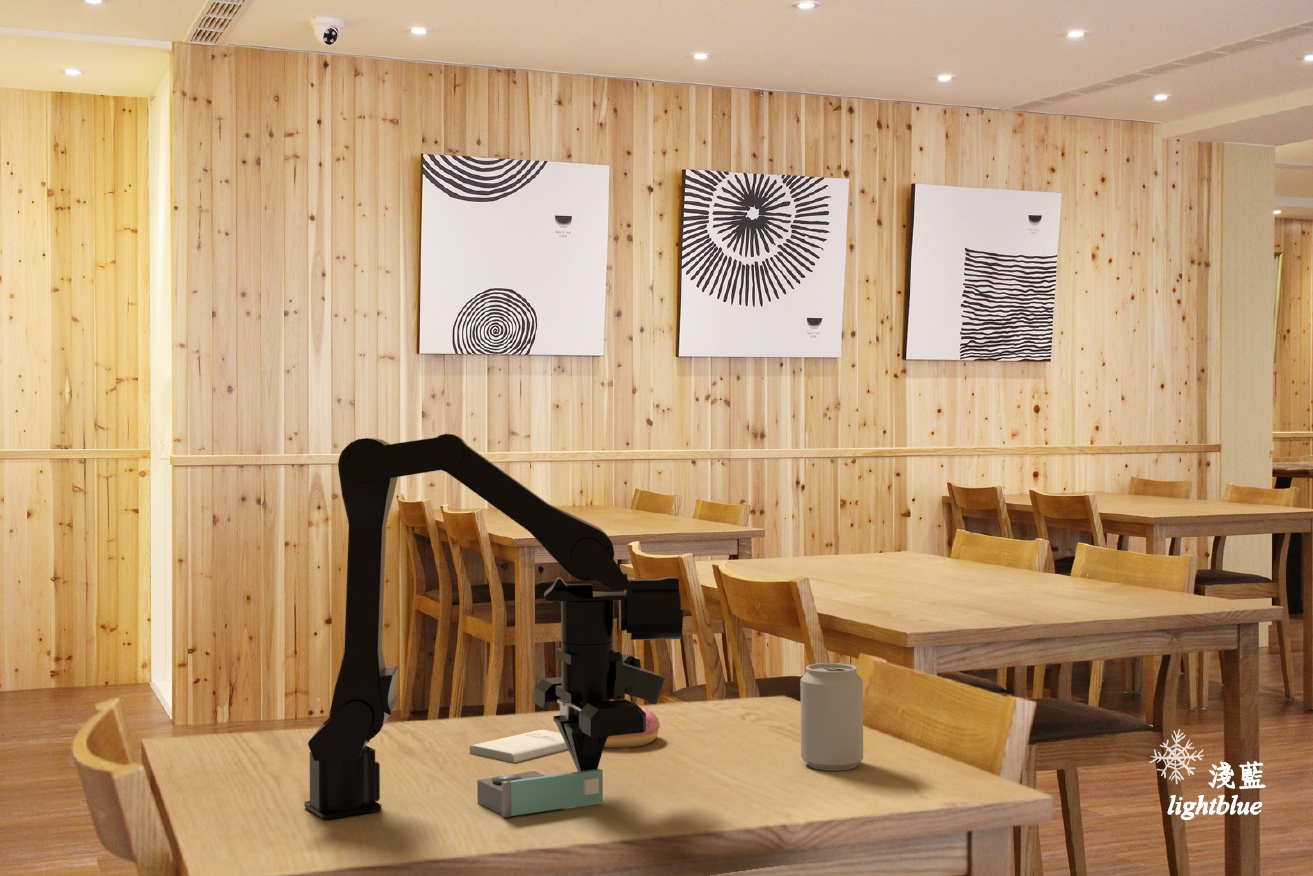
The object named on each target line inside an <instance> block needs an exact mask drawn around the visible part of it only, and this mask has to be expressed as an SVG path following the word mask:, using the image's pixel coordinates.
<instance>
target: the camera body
mask: <svg viewBox="0 0 1313 876" xmlns="http://www.w3.org/2000/svg"><path fill="white" fill-rule="evenodd" d="M541 776H546V775H545V774H542V773H540V772H538V771H535V770H532V771H531V770H530V771H525V772H519V773H511V774H504V775H502V774H501V775H497V776H495V777H494V776H493V777H488V778H480V779H477V780H476V782H477V787H476V788H477V791H476V792H477V804H479V805H480V806H482V807H485V808H487V809H489V810H491V811H492V812H495V813H497V814H499V815H500V816H502V782H503V781H512V780H519V779H526V778H534V777H541Z"/></svg>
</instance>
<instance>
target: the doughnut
mask: <svg viewBox="0 0 1313 876" xmlns="http://www.w3.org/2000/svg"><path fill="white" fill-rule="evenodd" d="M639 707H640V708H641V709H642V710H643V711H644V712H645V713H646V731H645V732H643V733H634V734H625V735H616V736H609V737H608V738H607V740H606V743H605V746H604V748H607V749H621V748H622V749H624V748H625V749H626V748H627V747H628V748H636V747H641V746H645V745H648V744H650V743H652V742H654V740H656V738H657V737H658V734H659V729H660V728H661V723H660V721H659V718H658V717H657V715H656V713H654V712H653V711H651V710H650V709H648V708H643V707H641V706H639ZM635 746H636V747H635ZM628 748H627V749H628Z"/></svg>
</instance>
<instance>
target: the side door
mask: <svg viewBox="0 0 1313 876" xmlns="http://www.w3.org/2000/svg"><path fill="white" fill-rule="evenodd" d="M603 779H604V774H603V769H602V768H598V769H593V770H586V771H579V772H578V771H572V772H566V773H564V772H563V773H557V774H550V775H545V776H541V777H534V778H526V779H519V780H512V781H503V782H502V815H501V817H504V818H510V817H513V816H522V815H526V814H533V813H540V812H546V811H553V810H555V811H556V810H560V809H561V810H562V809H566V808H573V807H580V806H581V807H582V806H589V805H595V804H601V803H604V788H603V787H604V785H603V784H604V782H603V781H604V780H603Z"/></svg>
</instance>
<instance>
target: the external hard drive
mask: <svg viewBox="0 0 1313 876" xmlns="http://www.w3.org/2000/svg"><path fill="white" fill-rule="evenodd" d="M565 750H568V748H567V745H566V743H565V741H564V739H563V737H562V735H561V733H560V732H556V731H552V730H547V729H538V730H534V731H529V732H524V733H520V734H517V735H516V734H515V735H511V736H506V737H502V738H497V739H494V740H489V741H484V742H480V743H475V744H471V745H470V746H469V754H471V755H476V756H481V757H486V758H491V759H496V760H499V761H504V762H508V763H513V764H514V763H519V762H523V761H526V760H531V759H535V758H538V757H543V756H546V755H551V754H554V753H558V752H562V751H565Z"/></svg>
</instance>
